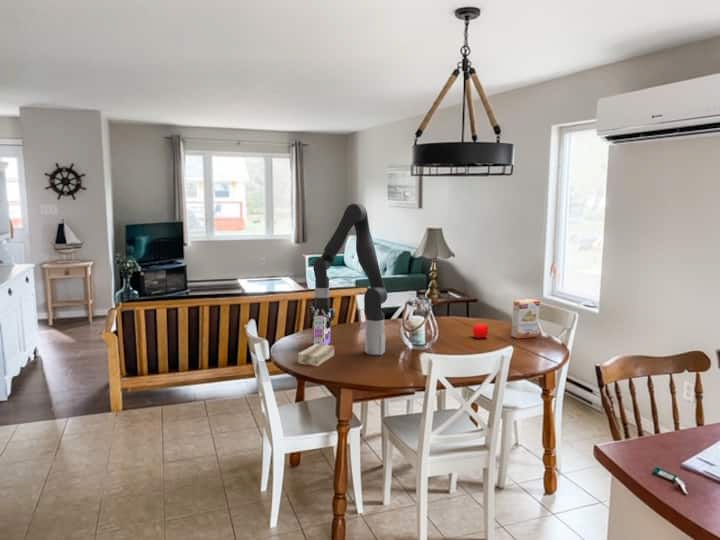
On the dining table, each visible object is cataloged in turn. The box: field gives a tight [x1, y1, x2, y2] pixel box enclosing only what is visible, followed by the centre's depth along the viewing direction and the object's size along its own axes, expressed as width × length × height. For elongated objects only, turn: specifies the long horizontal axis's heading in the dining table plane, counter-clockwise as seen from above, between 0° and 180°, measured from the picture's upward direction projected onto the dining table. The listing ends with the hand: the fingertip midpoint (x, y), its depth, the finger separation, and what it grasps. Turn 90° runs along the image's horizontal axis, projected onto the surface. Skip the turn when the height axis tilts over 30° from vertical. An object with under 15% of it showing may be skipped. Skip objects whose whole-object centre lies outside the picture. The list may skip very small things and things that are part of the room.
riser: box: [297, 344, 335, 367], centre depth 246 cm, size 10×18×5 cm, turn 157°
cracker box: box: [510, 298, 541, 340], centre depth 290 cm, size 14×6×21 cm, turn 111°
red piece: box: [472, 323, 489, 339], centre depth 288 cm, size 8×8×8 cm
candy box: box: [312, 312, 331, 346], centre depth 267 cm, size 14×6×16 cm, turn 168°
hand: (321, 327), depth 267 cm, fingers closed on candy box, 6 cm apart
